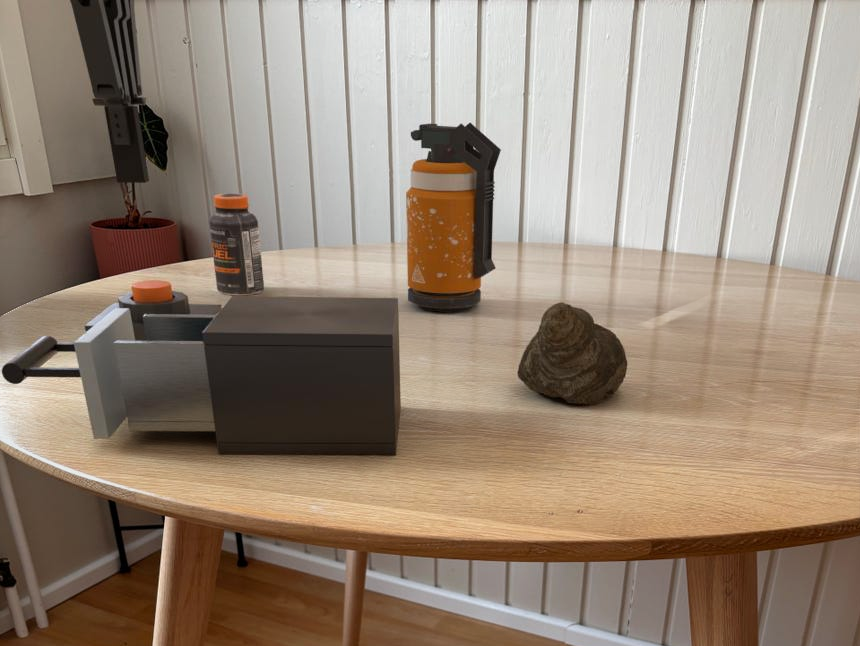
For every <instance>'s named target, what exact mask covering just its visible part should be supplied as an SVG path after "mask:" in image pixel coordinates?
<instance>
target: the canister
mask: <svg viewBox="0 0 860 646" xmlns="http://www.w3.org/2000/svg"><path fill="white" fill-rule="evenodd" d="M410 137H411V139H412V140H413V141H415V142H418V141H420V147H421V149H428V152H427V157H426V158H423V159H418V160H415V161H414V162H413V163H412V165H411V166H412V167H411V169H410V188H409V189H408V190H407V191H406V192H405V201H406V202H405V207H406V208H405V209H406V213H405V214H406V260H407V261H406V262H407V267H406V268H407V287H408V289H407V301H408V302H409V303H411V304H414V305H417V306H418V307H419V308H421V309H423V310H426V311H432V312H442V313H443V312H444V313H445V312H446V313H448V312H449V313H450V312H451V313H452V312H459V311H465V310H467V309H470V307H472V306H476V305H478V304H480V303H481V300H482V298H481V297H482V294H481V293H482V291H481V289H480V288H481V286H482V278H483V277H484V276H486V275H488V274H489V273H491V272H492V271H494V270H496V265H495V264H494V261H493V255H492V254H493V225H494V224H493V223H494V218H493V217H494V200H495V197H494V196H495V189H494V188H495V183H496V182H495V169H496V166H497V163H498V160H499V157H500V154H501V151H502V148H500V147H499V146H497V144H496V143H494V142H493V141H492V139H490V138H488V137H487V135H486V134H484V133H483V132H482V131H481V130H479V128H477V126H475V125H474V123H472V122H468V123H467V124H466V125H464V124H463V123H460V124H458V125H457V126H449V125H438V124H437V123H422V124H419V126H418V129H414V130H412V131H410Z"/></svg>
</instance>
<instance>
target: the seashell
mask: <svg viewBox="0 0 860 646" xmlns="http://www.w3.org/2000/svg"><path fill="white" fill-rule="evenodd" d="M517 369H518V370H517V378H518V379H519V380H520V381H521V382H523V383H524V385H525V386H526V387H527V388H528V389H529V390H530V391H533V392H536V393H540V394H543V395H545V396H548V397H550V398H552V399H553V398H562V399H563V400H565V402H567V404H568V403H569V404H577V405H578V404H579V405H580V404H584V405H588V406H589V405H590V406H591V405H597V404H598V403H599V402H601V401H603V400H604V398H605V397H606V395H607V396H612V395H614V394H615V393H617V391H618V390H619V388H620V387H621V385H622V384H623V383H624V380H625V378H626V375H627V370H628V359H627V355H626V349H625V348H624V345H623V344H622V342H621V340H620V339H619V338H618V337H617V334H615V333H614V332H613V331H612V330H610V329H608V328H606V327H604V326H602V325H600V324H598V323H596V322H595V321H594V317H593V316H592V315H591V314H590V313H589V311H586V309H585V310H584V309H583V308H581V307H575V306H572V305H571V304H569V303H565V302H557V303H555V304H553V305H551V306H550V307H548V308H547V309H546V311H544V313H543V314H542V317H541V319H540V324H539V326H538V330H537V332H536V333H535V335H534V336H533V337H532V338H531V339H530V341H529V343H528V344H527V346H526V347H525V349H524V351H523V353H522V355H521V358H520V362H519V363H518V368H517Z"/></svg>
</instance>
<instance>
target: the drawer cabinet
mask: <svg viewBox="0 0 860 646" xmlns="http://www.w3.org/2000/svg"><path fill="white" fill-rule="evenodd" d="M399 323H400V319H399V298H398V297H346V296H345V297H342V296H341V297H338V296H336V297H335V296H331V297H330V296H269V295H267V296H266V295H265V296H264V295H263V296H262V295H261V296H260V295H259V296H258V295H257V296H255V295H243V296H235V295H231V297H230V298H229V299H228V300H227V301H226V303H225V304H224V305H223V306H222V309H221V310H220V311H219V313H218V314H217V315H216V316H215V317H214V319H213V320H212V321H211V322H210V324H209V325H208V326H207V327H206V329H205V330H204V331H203V332H202V337H203V344H204V351H205V358H206V365H207V373H208V380H209V388H210V395H211V402H212V410H213V417H214V425H215V439H216V447H217V454H218V455H300V456H301V455H304V456H305V455H306V456H307V455H308V456H309V455H310V456H311V455H316V456H319V455H321V456H324V455H325V456H327V455H328V456H336V455H339V456H345V455H346V456H397V448H398V437H399V428H400V418H401V417H400V416H401V407H402V403H401V401H402V400H401V397H402V396H401V365H400V364H401V362H400V361H401V360H400V324H399Z"/></svg>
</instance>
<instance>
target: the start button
mask: <svg viewBox="0 0 860 646" xmlns="http://www.w3.org/2000/svg"><path fill="white" fill-rule="evenodd" d="M130 286H131V287H130V288H131V293H133V299H134V301H137V302H161V301H168V300H171V299H173V295H172V291H173V290H172V289H173V288H172V283H171V282H170V281H168V280H167V281H166V280H160V279H159V280H158V279H152V280H151V279H150V280H140V281H136V282H133V283H132V284H131V285H130Z"/></svg>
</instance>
